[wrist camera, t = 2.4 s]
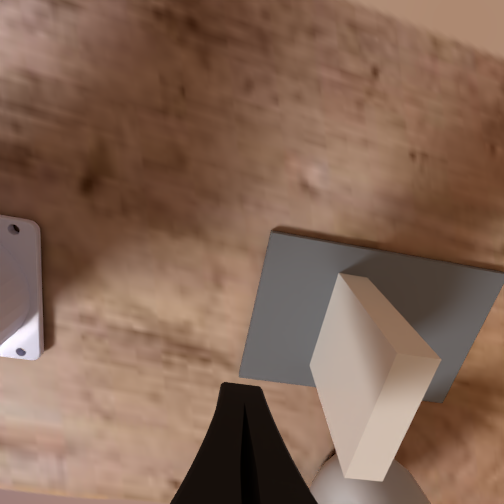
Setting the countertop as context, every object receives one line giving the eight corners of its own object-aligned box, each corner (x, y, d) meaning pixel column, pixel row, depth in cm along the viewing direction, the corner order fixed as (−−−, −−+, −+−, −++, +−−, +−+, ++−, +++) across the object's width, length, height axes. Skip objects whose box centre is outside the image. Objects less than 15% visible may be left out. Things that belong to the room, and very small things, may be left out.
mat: (239, 372, 19) (239, 377, 19) (271, 230, 16) (272, 232, 16) (438, 398, 20) (442, 403, 20) (502, 271, 17) (508, 274, 17)
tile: (309, 365, 19) (344, 477, 13) (338, 272, 17) (397, 353, 11) (335, 368, 19) (382, 481, 13) (367, 277, 17) (441, 359, 11)
